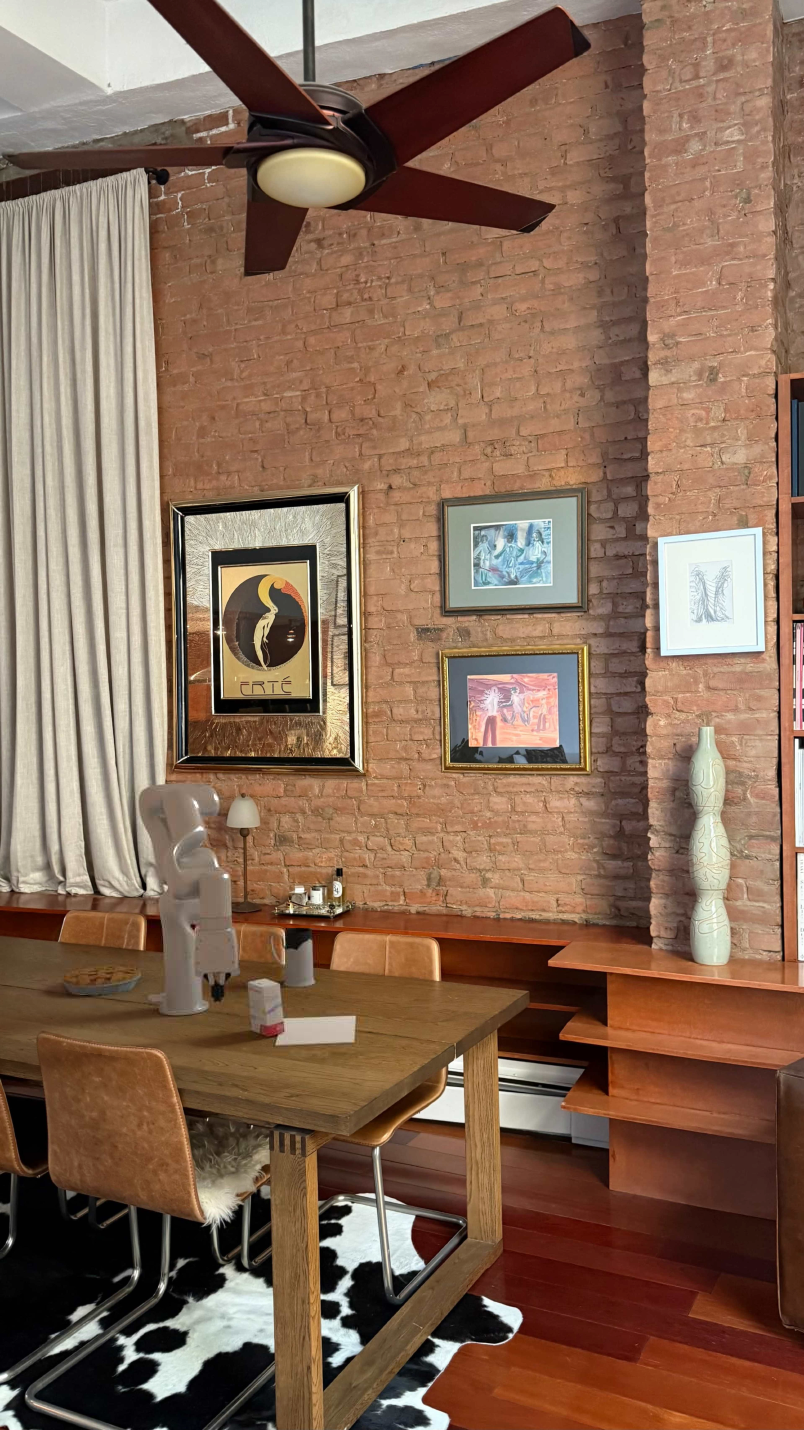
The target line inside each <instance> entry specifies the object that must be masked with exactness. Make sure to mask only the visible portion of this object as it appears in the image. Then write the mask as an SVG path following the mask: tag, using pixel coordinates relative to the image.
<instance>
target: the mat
mask: <svg viewBox="0 0 804 1430" xmlns="http://www.w3.org/2000/svg"><path fill="white" fill-rule="evenodd" d="M356 1017H357V1015H344V1016H343V1015H342V1016H341V1015H340V1016H317V1017H316V1016H315V1017H309V1016H308V1017H287V1018H284V1017H283V1020H284V1029H285V1032H282V1033H279V1034H277V1037H276V1042H275V1047H285V1046H311V1045H316V1046H317V1045H334V1044H335V1045H337V1044H339V1045H340V1044H354V1043H355V1038H356V1037H355V1035H356V1033H355V1032H356V1022H357V1021H356Z"/></svg>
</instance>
